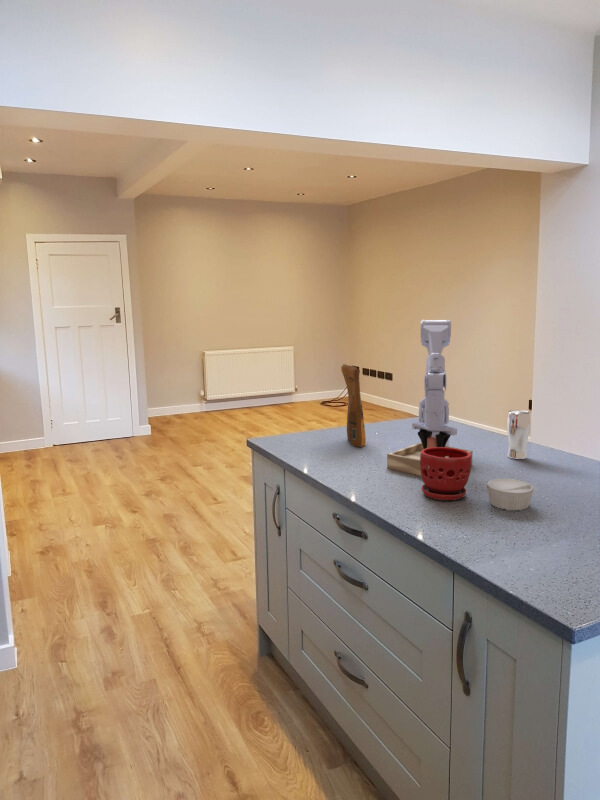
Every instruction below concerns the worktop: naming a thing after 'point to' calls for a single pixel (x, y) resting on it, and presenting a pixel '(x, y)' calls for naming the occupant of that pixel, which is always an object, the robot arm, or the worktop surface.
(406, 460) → the box
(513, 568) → the worktop surface
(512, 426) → the beer glass
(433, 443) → the peg
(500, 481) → the ramekin
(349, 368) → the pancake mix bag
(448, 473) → the plant pot
